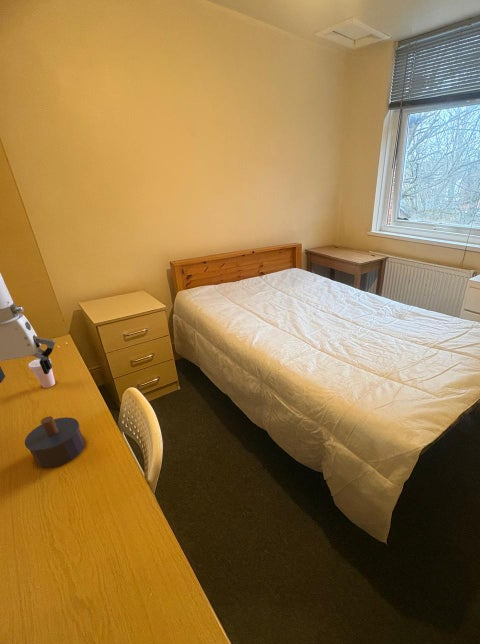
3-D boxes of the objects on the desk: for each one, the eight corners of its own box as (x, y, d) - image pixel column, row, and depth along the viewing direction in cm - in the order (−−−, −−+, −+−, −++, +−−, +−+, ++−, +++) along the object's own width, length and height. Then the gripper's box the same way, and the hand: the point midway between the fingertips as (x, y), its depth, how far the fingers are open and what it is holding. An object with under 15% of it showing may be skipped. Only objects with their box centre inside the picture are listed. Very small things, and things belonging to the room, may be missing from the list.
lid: (19, 458, 79) (10, 442, 77) (33, 427, 89) (26, 411, 87) (75, 445, 84) (69, 428, 81) (83, 416, 93) (77, 400, 91)
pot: (30, 473, 83) (21, 455, 80) (42, 443, 92) (34, 425, 89) (81, 460, 86) (73, 442, 84) (87, 432, 96) (81, 415, 93)
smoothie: (46, 391, 113) (31, 357, 106) (33, 387, 115) (18, 354, 108) (63, 381, 118) (50, 348, 111) (51, 378, 120) (38, 345, 113)
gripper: (45, 303, 80) (67, 361, 87) (-46, 314, 73) (-12, 375, 81) (37, 314, 74) (62, 375, 81) (-62, 327, 67) (-25, 392, 75)
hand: (25, 375), depth 81 cm, fingers open, 9 cm apart
